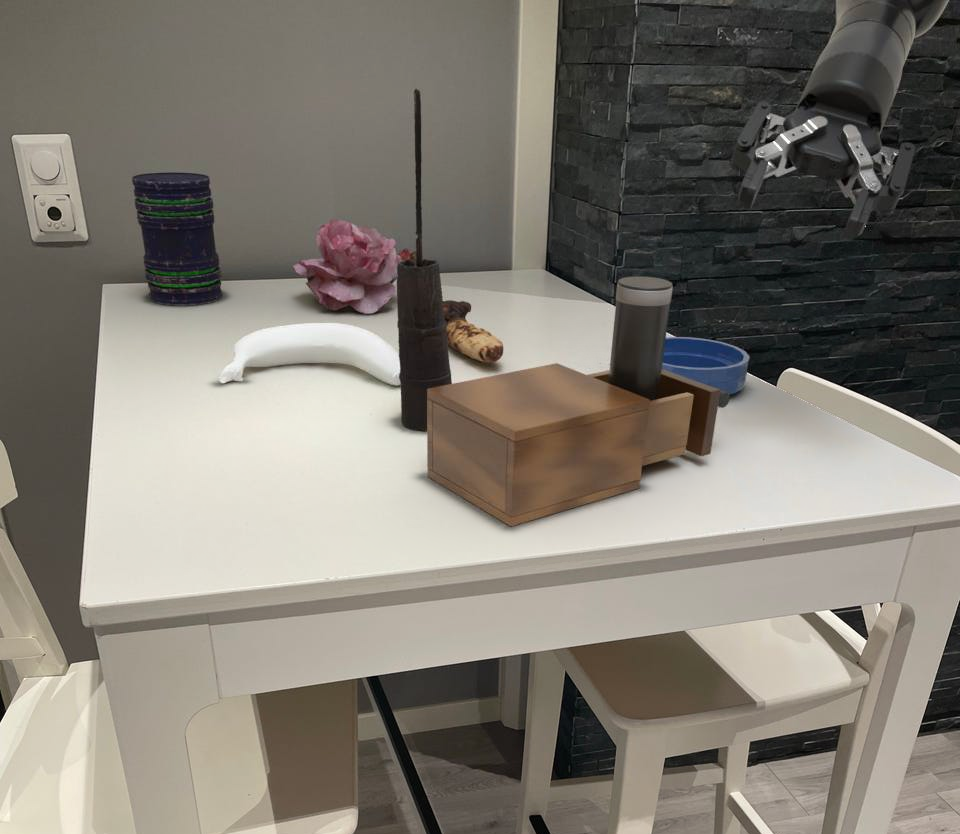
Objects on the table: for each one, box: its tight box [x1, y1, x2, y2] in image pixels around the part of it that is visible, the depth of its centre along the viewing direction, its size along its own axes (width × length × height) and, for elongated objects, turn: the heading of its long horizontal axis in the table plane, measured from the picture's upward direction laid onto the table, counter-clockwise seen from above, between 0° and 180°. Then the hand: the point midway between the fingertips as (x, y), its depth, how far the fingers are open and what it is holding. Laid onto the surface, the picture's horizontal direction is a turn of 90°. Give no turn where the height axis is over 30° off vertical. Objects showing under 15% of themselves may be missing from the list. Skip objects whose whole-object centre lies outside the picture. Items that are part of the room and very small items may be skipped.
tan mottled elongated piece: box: [443, 299, 504, 363], centre depth 112 cm, size 9×5×18 cm
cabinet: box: [426, 362, 650, 527], centre depth 79 cm, size 14×12×8 cm
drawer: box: [587, 369, 731, 467], centre depth 85 cm, size 17×10×6 cm, turn 126°
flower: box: [292, 218, 411, 315], centre depth 130 cm, size 15×15×10 cm
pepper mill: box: [608, 276, 674, 401], centre depth 82 cm, size 4×4×13 cm
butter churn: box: [396, 88, 453, 432], centre depth 87 cm, size 9×10×28 cm
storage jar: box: [131, 171, 223, 307], centre depth 129 cm, size 10×10×15 cm
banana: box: [218, 322, 401, 386], centre depth 103 cm, size 5×19×15 cm
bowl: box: [662, 336, 751, 395], centre depth 104 cm, size 12×12×4 cm
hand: (798, 216), depth 79 cm, fingers open, 8 cm apart
